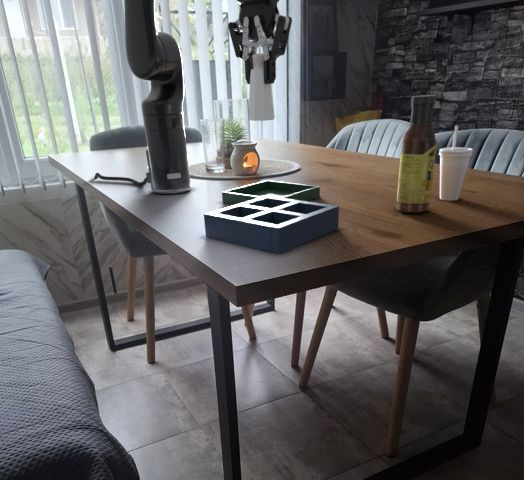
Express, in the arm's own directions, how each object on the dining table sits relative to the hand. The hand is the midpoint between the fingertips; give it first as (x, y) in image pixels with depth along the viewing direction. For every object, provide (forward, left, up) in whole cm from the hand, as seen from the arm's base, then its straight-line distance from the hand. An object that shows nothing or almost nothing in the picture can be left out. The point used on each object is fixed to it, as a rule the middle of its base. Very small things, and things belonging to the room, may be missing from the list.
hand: (260, 83), depth 91 cm
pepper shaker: (0, 0, -6) cm, 6 cm away
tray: (-2, +5, -23) cm, 23 cm away
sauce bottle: (+28, +12, -23) cm, 38 cm away
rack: (+15, -15, -23) cm, 31 cm away
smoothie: (+30, +25, -23) cm, 45 cm away
